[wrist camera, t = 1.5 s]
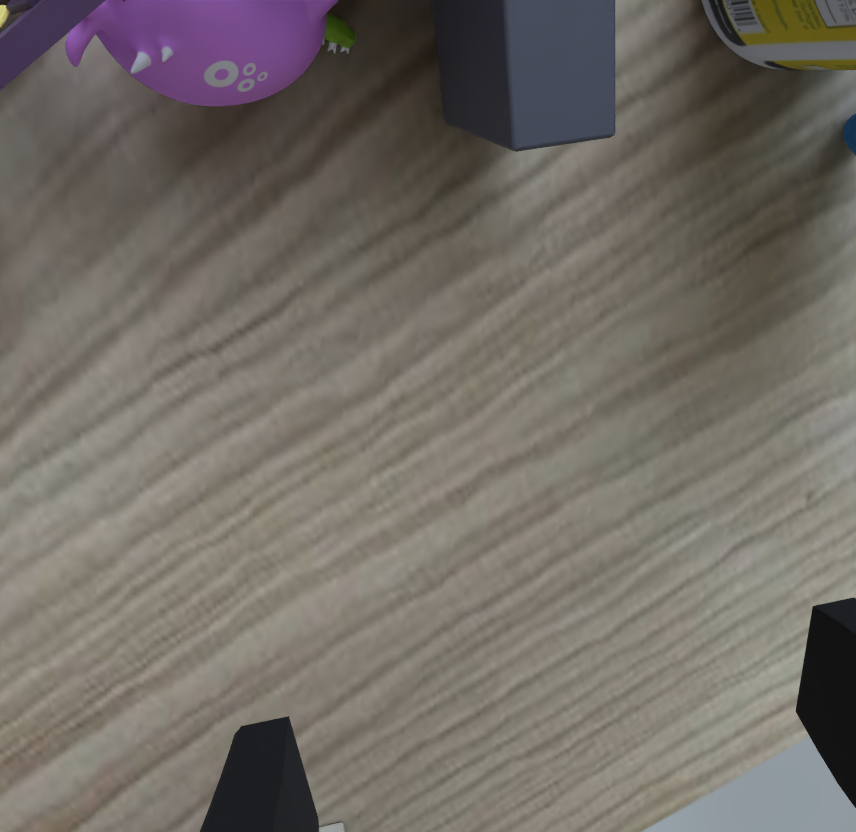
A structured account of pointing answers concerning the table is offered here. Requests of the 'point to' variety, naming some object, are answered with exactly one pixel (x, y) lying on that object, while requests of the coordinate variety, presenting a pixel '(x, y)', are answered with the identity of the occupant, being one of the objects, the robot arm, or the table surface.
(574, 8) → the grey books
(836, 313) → the table surface
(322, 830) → the cream blocks
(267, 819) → the robot arm
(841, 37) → the supplement bottle
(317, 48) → the game card
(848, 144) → the ornament
